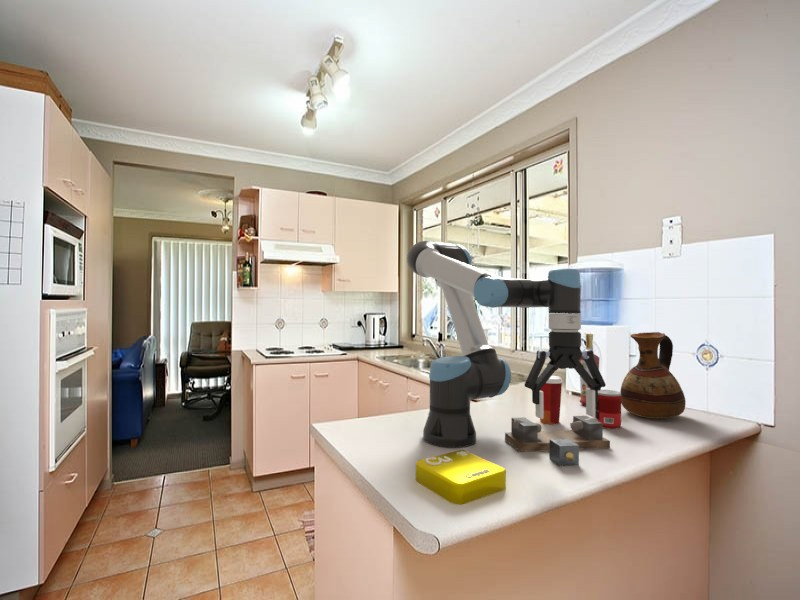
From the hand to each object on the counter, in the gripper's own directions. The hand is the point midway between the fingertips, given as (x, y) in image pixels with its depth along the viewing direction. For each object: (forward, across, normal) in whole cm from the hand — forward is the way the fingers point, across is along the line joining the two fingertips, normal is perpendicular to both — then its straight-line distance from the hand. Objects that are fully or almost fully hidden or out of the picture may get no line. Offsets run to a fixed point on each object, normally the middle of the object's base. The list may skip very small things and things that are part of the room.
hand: (565, 416), depth 102 cm
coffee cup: (+11, +14, +34) cm, 39 cm away
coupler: (+11, 0, 0) cm, 11 cm away
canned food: (+11, +31, +28) cm, 43 cm away
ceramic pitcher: (+11, +55, +38) cm, 68 cm away
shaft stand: (+11, +5, +14) cm, 18 cm away
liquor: (+11, +41, +54) cm, 69 cm away
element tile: (+12, -30, -8) cm, 33 cm away
